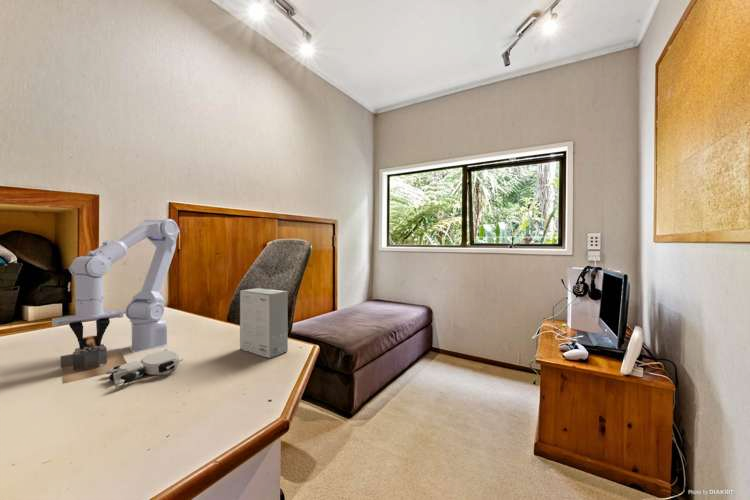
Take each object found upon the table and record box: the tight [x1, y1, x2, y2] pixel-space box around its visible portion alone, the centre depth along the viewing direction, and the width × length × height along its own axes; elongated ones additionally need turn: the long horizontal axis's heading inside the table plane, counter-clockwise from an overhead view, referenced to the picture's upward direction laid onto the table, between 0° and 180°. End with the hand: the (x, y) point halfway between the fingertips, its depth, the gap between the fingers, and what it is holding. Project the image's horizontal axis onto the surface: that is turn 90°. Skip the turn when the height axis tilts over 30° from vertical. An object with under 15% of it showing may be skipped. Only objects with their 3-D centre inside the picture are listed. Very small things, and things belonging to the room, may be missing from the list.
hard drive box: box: [239, 287, 289, 359], centre depth 101 cm, size 16×8×20 cm, turn 58°
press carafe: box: [60, 343, 108, 371], centre depth 85 cm, size 9×7×5 cm
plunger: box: [83, 335, 97, 350], centre depth 86 cm, size 5×5×7 cm
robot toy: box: [105, 348, 184, 386], centre depth 81 cm, size 12×4×15 cm
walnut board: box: [61, 351, 127, 385], centre depth 86 cm, size 13×18×1 cm
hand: (90, 346), depth 86 cm, fingers closed on plunger, 3 cm apart
